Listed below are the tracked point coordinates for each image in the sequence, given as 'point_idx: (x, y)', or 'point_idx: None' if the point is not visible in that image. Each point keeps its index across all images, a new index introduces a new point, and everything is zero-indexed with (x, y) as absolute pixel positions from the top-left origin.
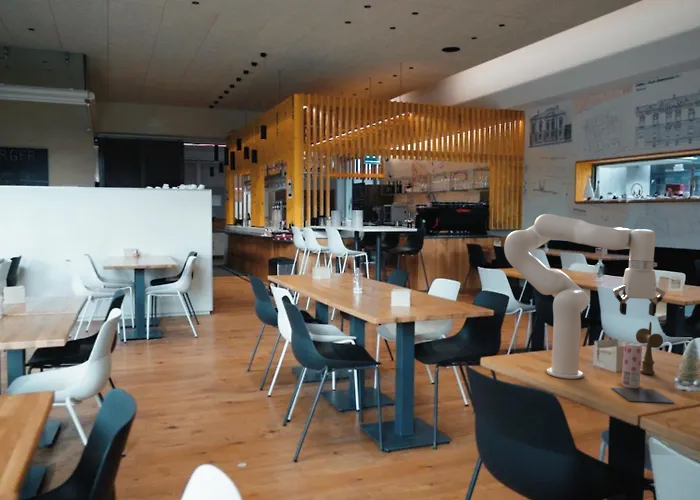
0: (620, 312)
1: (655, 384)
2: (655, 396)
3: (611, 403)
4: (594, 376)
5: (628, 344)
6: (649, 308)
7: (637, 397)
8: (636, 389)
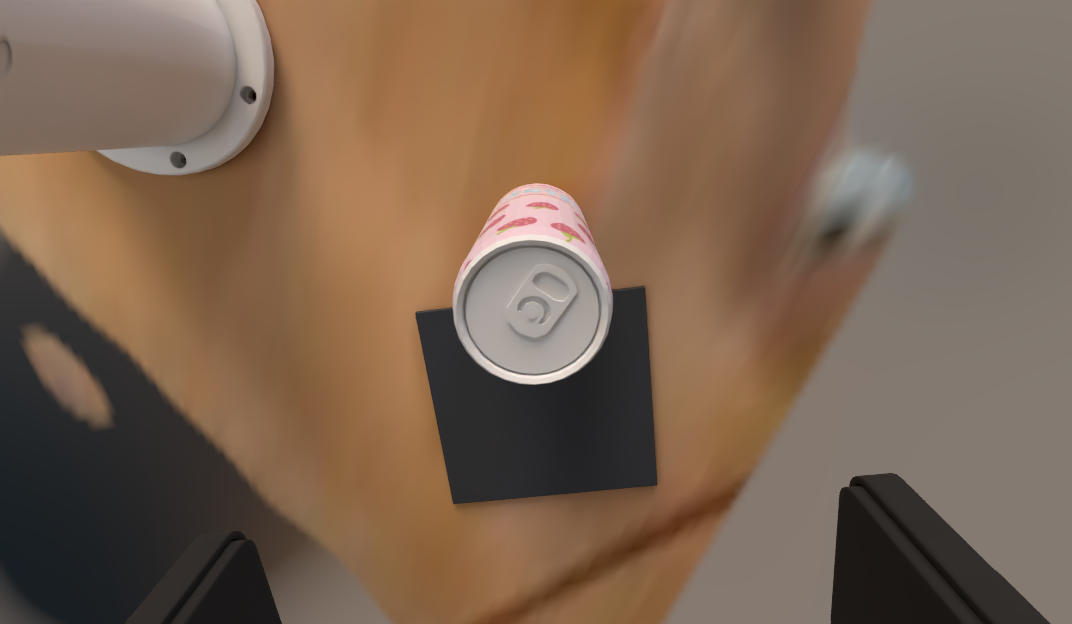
0: (199, 538)
1: (714, 145)
2: (605, 412)
3: (368, 539)
4: (357, 45)
5: (484, 322)
6: (933, 616)
7: (507, 448)
8: None
